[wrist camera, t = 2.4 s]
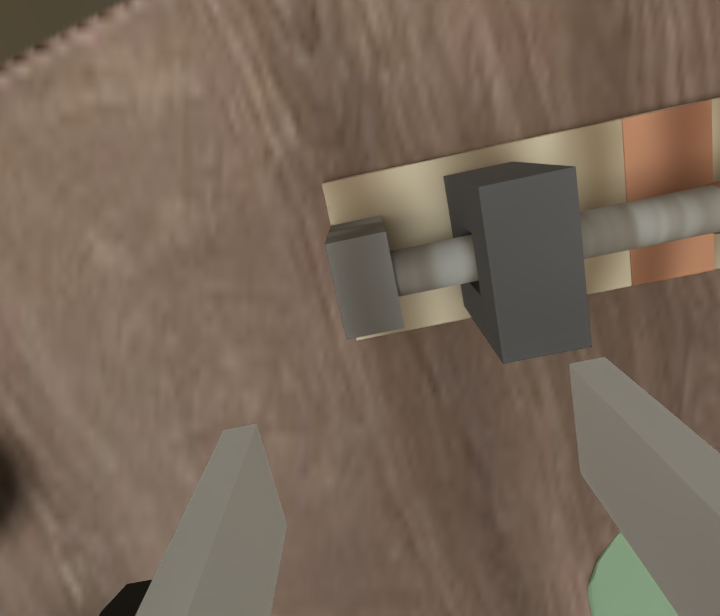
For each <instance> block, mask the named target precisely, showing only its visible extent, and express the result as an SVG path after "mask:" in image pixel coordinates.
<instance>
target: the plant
mask: <svg viewBox="0 0 720 616" xmlns="http://www.w3.org/2000/svg"><path fill="white" fill-rule="evenodd" d="M588 596H589V603H590V609H591V615H592V616H678V614H677V613H676V611H675V610H674V608H673V607H672V605H671V604H670V603H669V601H668V600H667V598H666V597H665V595H664V594H663V592H662V591H661V589H660V588H659V587H658V585H657V584H656V582H655V581H654V579H653V578H652V576H651V575H650V573H649V572H648V571H647V569H646V568H645V566H644V565H643V563H642V562H641V560H640V559H639V558H638V556H637V555H636V553H635V552H634V550H633V549H632V547H631V546H630V544H629V543H628V542H627V540H626V539H625V537H624V536H623V534H622V533H621V532H620V533H619V534H618V535H617V536H616V537H615V539H614V540H613V541H612V542H611V543H610V544H609V545H608V547H607V548H606V549H605V550H604V552H603V553H602V554H601V555H600V557H599V559H598V560H597V562H596V564H595V567H594V570H593V572H592V575H591V578H590V581H589V584H588Z"/></svg>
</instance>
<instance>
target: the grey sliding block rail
mask: <svg viewBox="0 0 720 616" xmlns="http://www.w3.org/2000/svg"><path fill="white" fill-rule="evenodd" d="M512 161H513V162H526V163H538V164H551V165H564V166H576V175H577V186H578V198H579V209H580V220H581V232H582V243H583V255H584V266H585V277H586V289H587V295H588V294H593V293H598V292H603V291H608V290H613V289H618V288H623V287H628V286H636V285H641V284H646V283H651V282H656V281H661V280H666V279H671V278H676V277H681V276H686V275H691V274H696V273H702V272H707V271H712V270H714V269H719V268H720V97H716V98H711V99H706V100H702V101H697V102H693V103H688V104H683V105H679V106H674V107H669V108H665V109H660V110H656V111H651V112H646V113H642V114H637V115H632V116H628V117H623V118H619V119H614V120H609V121H605V122H600V123H595V124H591V125H586V126H582V127H577V128H572V129H568V130H563V131H558V132H554V133H549V134H545V135H540V136H535V137H531V138H526V139H521V140H517V141H512V142H508V143H503V144H498V145H494V146H489V147H484V148H480V149H475V150H471V151H466V152H461V153H457V154H452V155H447V156H443V157H438V158H434V159H429V160H424V161H420V162H415V163H410V164H406V165H401V166H397V167H392V168H387V169H383V170H378V171H373V172H369V173H364V174H360V175H355V176H350V177H346V178H341V179H336V180H332V181H327V182H323V183H322V187H323V192H324V196H325V201H326V205H327V209H328V214H329V218H330V223H331V228H330V230H329V233H328V236H327V239H326V242H325V247H326V252H327V256H328V260H329V265H330V269H331V273H332V278H333V282H334V286H335V291H336V295H337V299H338V304H339V308H340V312H341V317H342V321H343V325H344V330H345V334H346V338H347V340H348V339H353V338H357V340H362V339H367V338H372V337H377V336H382V335H387V334H392V333H397V332H402V331H407V330H412V329H417V328H422V327H427V326H432V325H437V324H442V323H447V322H452V321H457V320H462V319H467V318H472V317H471V316H470V314H469V313H468V311H467V310H466V308H465V307H464V303H463V297H462V291H461V285H460V284H464V283H469V282H474V281H479V280H478V273H477V266H476V259H475V253H474V246H473V239H472V234H471V235H466V236H462V237H457V238H453V234H452V228H451V222H450V215H449V209H448V203H447V197H446V190H445V184H444V178H443V176H446V175H451V174H456V173H460V172H465V171H470V170H474V169H479V168H484V167H488V166H493V165H498V164H502V163H507V162H512Z"/></svg>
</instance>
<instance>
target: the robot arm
mask: <svg viewBox="0 0 720 616" xmlns="http://www.w3.org/2000/svg"><path fill="white" fill-rule="evenodd" d="M569 369H570V378H571V388H572V398H573V408H574V418H575V428H576V437H577V447H578V457H579V467H580V473H581V475H582V476H583V478H584V479H585V481H586V482H587V484H588V485H589V486H590V488H591V489H592V491H593V492H594V494H595V495H596V497H597V498H598V499H599V501H600V502H601V504H602V505H603V507H604V508H605V510H606V511H607V513H608V514H609V515H610V517H611V518H612V520H613V521H614V523H615V524H616V526H617V527H618V529H619V530H620V531H621V533H622V534H623V536H624V537H625V539H626V540H627V542H628V543H629V544H630V546H631V547H632V549H633V550H634V552H635V553H636V555H637V556H638V558H639V559H640V560H641V562H642V563H643V565H644V566H645V568H646V569H647V571H648V572H649V573H650V575H651V576H652V578H653V579H654V581H655V582H656V584H657V585H658V587H659V588H660V589H661V591H662V592H663V594H664V595H665V597H666V598H667V600H668V601H669V603H670V604H671V605H672V607H673V608H674V610H675V611H676V613H677V614H678V616H720V453H719V452H718V451H716V450H715V449H714V448H713V447H712V446H710V445H709V444H708V443H707V442H706V441H704V440H703V439H702V438H701V437H700V436H698V435H697V434H696V433H695V432H694V431H692V430H691V429H690V428H689V427H688V426H687V425H685V424H684V423H683V422H682V421H681V420H679V419H678V418H677V417H676V416H675V415H673V414H672V413H671V412H670V411H669V410H667V409H666V408H665V407H664V406H663V405H661V404H660V403H659V402H658V401H657V400H656V399H654V398H653V397H652V396H651V395H650V394H648V393H647V392H646V391H645V390H644V389H642V388H641V387H640V386H639V385H638V384H636V383H635V382H634V381H633V380H632V379H631V378H629V377H628V376H627V375H626V374H625V373H623V372H622V371H621V370H620V369H619V368H617V367H616V366H615V365H614V364H613V363H611V362H610V361H609V360H608V359H607V358H605V357H602V358H597V359H592V360H586V361H581V362H576V363H571V364H569ZM286 529H287V523H286V520H285V516H284V513H283V510H282V506H281V503H280V500H279V496H278V493H277V490H276V486H275V483H274V480H273V476H272V473H271V469H270V466H269V463H268V459H267V456H266V453H265V449H264V446H263V443H262V439H261V436H260V432H259V429H258V426H257V424H253V425H247V426H242V427H237V428H232V429H227V430H223V432H222V434H221V437H220V439H219V441H218V443H217V445H216V447H215V449H214V451H213V453H212V455H211V458H210V460H209V462H208V464H207V466H206V468H205V470H204V472H203V474H202V476H201V479H200V481H199V483H198V485H197V487H196V489H195V491H194V493H193V495H192V498H191V500H190V502H189V504H188V506H187V508H186V510H185V512H184V514H183V516H182V519H181V521H180V523H179V525H178V527H177V529H176V531H175V533H174V535H173V537H172V540H171V542H170V544H169V546H168V548H167V550H166V552H165V554H164V556H163V559H162V561H161V563H160V565H159V567H158V569H157V571H156V573H155V575H154V577H153V580H147V581H142V582H136V583H130V584H127V585H126V586H125V587H124V588H123V589H122V590H121V591H120V592H119V593H118V594H117V595H116V597H115V598H114V599H113V600H112V601H111V602H110V603H109V604H108V605H107V606H106V607H105V608H104V609H103V610H102V612H101V613H100V615H99V616H271V610H272V605H273V599H274V594H275V589H276V583H277V578H278V572H279V567H280V562H281V556H282V551H283V546H284V540H285V535H286Z"/></svg>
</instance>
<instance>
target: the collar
mask: <svg viewBox="0 0 720 616" xmlns="http://www.w3.org/2000/svg"><path fill="white" fill-rule="evenodd" d="M443 178H444V184H445V190H446V197H447V203H448V209H449V215H450V222H451V228H452V234H453V238H457V237H462V236H466V235H471V234H472V239H473V246H474V253H475V259H476V266H477V273H478V280H479V281H474V282H469V283H464V284H460V285H461V291H462V297H463V303H464V307H465V308H466V310H467V311H468V313H469V314H470V316H471V317H472V319H473V320H474V322H475V323H476V324H477V326H478V327H479V329H480V330H481V332H482V333H483V335H484V336H485V338H486V339H487V341H488V342H489V344H490V345H491V346H492V348H493V349H494V351H495V352H496V354H497V355H498V357H499V358H500V360H501V361H502V363H503V364H504V363H509V362H515V361H520V360H525V359H530V358H535V357H540V356H546V355H551V354H556V353H561V352H566V351H571V350H577V349H582V348H587V347H592V346H591V334H590V323H589V312H588V300H587V289H586V277H585V266H584V255H583V243H582V232H581V220H580V209H579V198H578V186H577V175H576V166H564V165H551V164H538V163H526V162H513V161H512V162H507V163H502V164H498V165H493V166H488V167H484V168H479V169H474V170H470V171H465V172H460V173H456V174H451V175H446V176H443Z"/></svg>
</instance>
